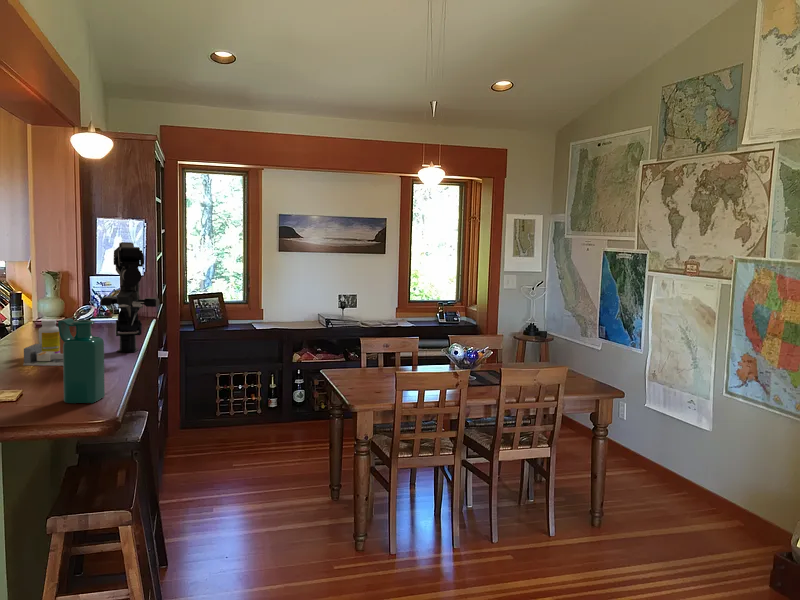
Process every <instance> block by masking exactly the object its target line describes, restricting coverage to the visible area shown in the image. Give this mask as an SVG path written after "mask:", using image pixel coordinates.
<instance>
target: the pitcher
mask: <svg viewBox="0 0 800 600" xmlns="http://www.w3.org/2000/svg"><path fill="white" fill-rule="evenodd" d="M57 324H58V325H57V327H58V328H59V333H60V340H62V341H63V344H62V354H63V366H62V367H63V368H62V372H63V402H64V403H65V404H76V403H91V404H95V403H97V402H98V401H100V400H101V398H102V399H104V398H105V394H106V393H105V391H106V389H105V342H104V338H102V337H99V336H96V335H95V336H94V335H92V325H93V324H95V321H94V320H92V319H91V320H89V319H80V320H79V319H78V320H74V319H73V318H71V317H69V318H65V319H64V318H63V319H61V320H58V321H57ZM70 327H75V332H76V333H75V335H74V336H73V335H72V333H71V331H70ZM96 401H97V402H96ZM94 402H95V403H94Z"/></svg>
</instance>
